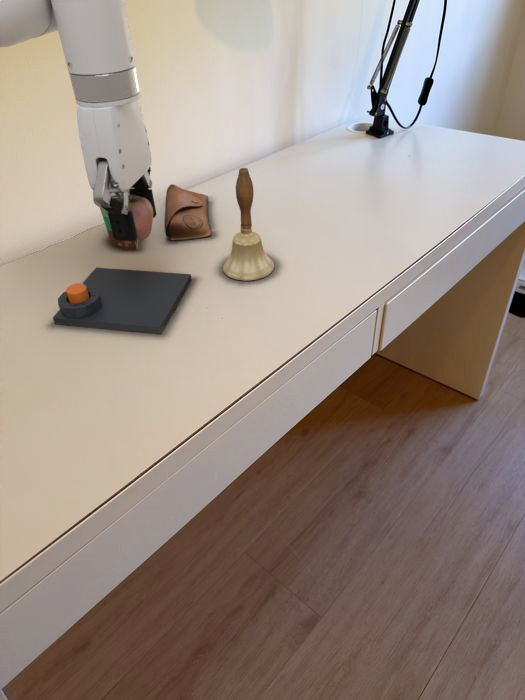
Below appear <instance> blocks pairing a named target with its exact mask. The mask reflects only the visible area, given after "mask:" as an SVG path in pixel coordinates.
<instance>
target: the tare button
mask: <svg viewBox="0 0 525 700" xmlns="http://www.w3.org/2000/svg"><path fill="white" fill-rule="evenodd" d="M65 291H66V293H67V296H68V299H69V302H70V303H73V304H77V303H82V302H84V301H86V300H88V299H89V294H88V291H87V288H86V285H84V284H82V282H81V283H72V284H70V285H69V286H68V287H66V289H65Z"/></svg>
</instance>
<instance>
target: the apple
mask: <svg viewBox="0 0 525 700" xmlns="http://www.w3.org/2000/svg"><path fill="white" fill-rule="evenodd" d="M116 199H117V200H118V201H119V202H120V197H117V198H116ZM128 209H129V210H128V211H132V214H133V218H134V223H135V228H136V232H137V239H136V241H138V242H140V241H141V240H143V239H147V238H149V237H150V235H151V232H152V229H153V222H154V218H153V208H152V205H151V203H150V202H149V201H148V200H147V199H146V198H143V197H139V196H135V195H128ZM108 219H109V217H108ZM109 222H110V221H109Z"/></svg>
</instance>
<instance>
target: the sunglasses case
mask: <svg viewBox="0 0 525 700" xmlns="http://www.w3.org/2000/svg"><path fill="white" fill-rule="evenodd" d="M165 192H166V195H165V206H164V207H165V209H164V233H165V236H166V238H168V239H169V240H170V241H174V242H175V241H192V240H197V239H202V238H207V237H210V236H212V229H211V224H210V221H209V214H208V213H209V212H208V199H209V196H208V195H206V194H203V193H199V192H195V191H191V190H188V189H184V188H181V187H180V186H177V185H175V184H173V183H172V184H170V185H169V186H168V187H167V189H166V191H165Z"/></svg>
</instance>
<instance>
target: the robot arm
mask: <svg viewBox="0 0 525 700" xmlns="http://www.w3.org/2000/svg"><path fill="white" fill-rule="evenodd" d="M55 32H58V35H59V39H60V44H61V47H62V51H63V55H64V59H65V63H66V68H67V72H68V75H69V78H70V79H69V80H70V83H71V86H72V87H71V88H72V91H73V95H74V99H75V102H76V105H77V106H76V119H77V128H78V135H79V142H80V147H81V153H82V158H83V164H84V167H85V172H86V176H87V181H88V184H89V187H90V189H91V190H92V191H93V190H94V199H95V201H97V202H98V203H99V204H100V205H101V207H102V208H104V210H105V213H106V214H108V217H109V221H110V225H111V229H112V233H113V237H114V239H115V240H120V241H136V239H137V232H136V228H135V223H134V218H133V214H132V211H128V210H129V209H128V189H129V188H130V187H132V188H134V189H129V193H130V195H135V196H139V197H143V198H146V199H147V200H148V201H149V202H150V203H151V205H152V208H153V219H154V218H155V217H156V216H157V210H156V204H155V198H154V193H153V189H152V188H153V181H152V178H151V172H152V169H151V165H152V152H151V145H150V141H149V136H148V131H147V126H146V121H145V118H144V115H143V114H144V113H143V109H142V107H141V102H140V98H141V97H142V94H141V89H140V83H139V76H138V72H137V65H136V60H135V55H134V49H133V44H132V43H133V42H132V38H131V31H130V27H129V20H128V15H127V10H126V4H125V0H0V48H9V47H12V46H15V45H18V44H21V43H23V42H26V41H29V40H32V39H36V38H39V37H42V36H45V35H48V34H51V33H55ZM110 183H118V185H119V188H111V185H110ZM112 193H120V202H119V201H118V200H117V199H116V198H112Z"/></svg>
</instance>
